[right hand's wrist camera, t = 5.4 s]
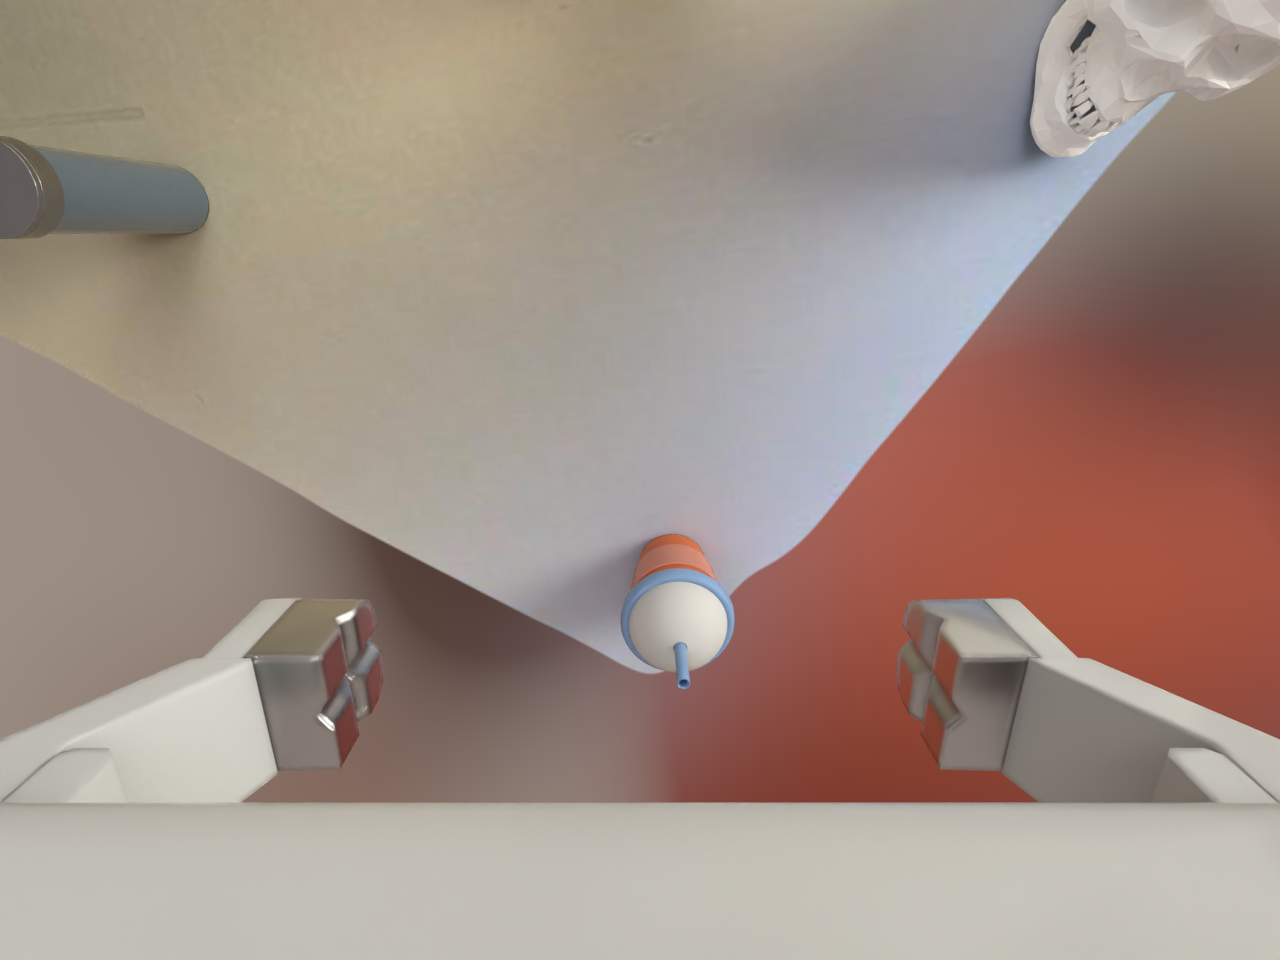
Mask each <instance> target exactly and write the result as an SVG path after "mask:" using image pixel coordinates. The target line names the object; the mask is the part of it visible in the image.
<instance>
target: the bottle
mask: <svg viewBox="0 0 1280 960" xmlns="http://www.w3.org/2000/svg"><path fill="white" fill-rule="evenodd" d="M29 146H31V147H33V148H34V149H35V150H37V151H38V152H39V153H40V154H41V155H42V156H43V157H44V158H45V159H46V160H47V161H48V162H49V163H50V165H51V166H52V167H53V169H54V170H55V172H56V174H57V176H58V178H59V180H60V182H61V185H62V188H63V193H64V200H65V205H64V213H63V216H62V219H61V221H60V223H59V224H58V226H57V227H56V228H55V229H54V230H53V231H52V232H50V233H49V234H183V233H191V232H193V231H196V230H197V229H199V228H200V227H201V226H202V225H203V224H204V222H205V220H206V218H207V215H208V209H209V208H208V199H207V195H206V192H205V190H204V188H203V186H202V185H201V183H200V182H199V181H198V180H197V178H196V177H195V176H194V175H192V174H191V173H190V172H188V171H187V170H185V169H183V168H181V167H178V166H175V165H168V164H161V163H154V162H147V161H140V160H133V159H126V158H119V157H112V156H105V155H98V154H91V153H84V152H77V151H70V150H63V149H56V148H49V147H42V146H35V145H29Z"/></svg>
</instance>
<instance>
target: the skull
mask: <svg viewBox="0 0 1280 960" xmlns="http://www.w3.org/2000/svg"><path fill="white" fill-rule="evenodd" d="M1087 19H1088V20H1089V21H1091V22H1092V23H1094V24H1095V25H1096V28H1095V30H1094V31H1093V33H1092V35H1091V36H1090V37H1088V38H1086V39H1085V40H1084V41H1083V42H1082V44H1081V46H1080V47H1079V48H1078V49H1077V50H1075V52H1074V54H1073V53H1072V51H1071V49H1070V47H1071V45H1072V44H1073V42H1074V40H1075V39H1076V37H1077V36H1078V34H1079V33H1080V31H1081V29H1082V28H1083V26H1084V24H1085V23H1086V21H1087ZM1084 51H1085V52H1084ZM1279 64H1280V0H1066V2H1065V3H1064V4H1063V5H1062V7H1061V8H1060V9H1059V11H1058V12H1057V13H1056V14H1055V16H1054V17H1053V18H1052V20H1051V22H1050V24H1049V26H1048V27H1047V30H1046V32H1045V34H1044V37H1043V39H1042V41H1041V44H1040V48H1039V53H1038V58H1037V64H1036V78H1035V92H1034V100H1033V106H1032V112H1031V118H1030V126H1031V131H1032V135H1033V138H1034V140H1035V142H1036V144H1037V145H1038V147H1039V148H1040V149H1041V150H1042V151H1044V152H1045V153H1047V154H1048V155H1050V156H1052V157H1073V156H1078V155H1080V154H1082V153H1083V152H1085V151H1086V150H1087V149H1088V148H1089V147H1090V146H1091V145H1092V144H1093V143H1094V142H1095V140H1097V139H1099V138H1101V137H1103V136H1105V135H1107V134H1108V133H1109V132H1111V131H1112V130H1113V129H1115V128H1117V127H1119V126H1121V125H1122V124H1124V123H1125V122H1126V121H1127V120H1130V119H1131V118H1132V117H1133V116H1134V115H1136V114H1137V113H1138V112H1139V111H1140V110H1142V109H1143V108H1144V107H1145V106H1146V105H1148V104H1149V103H1150V102H1152V101H1153V100H1154V99H1155V98H1157V97H1158V96H1159V95H1162V94H1164V93H1168V92H1174V91H1180V90H1183V91H1185V92H1187V93H1190V94H1192V95H1194V96H1195V97H1197V98H1198V99H1200V100H1201V101H1203V102H1204V101H1208V100H1213V99H1215V98H1218V97H1220V96H1223V95H1225V94H1227V93H1230V92H1232V91H1235V90H1236V89H1238V88H1240V87H1242V86H1244V85H1246V84H1248V83H1250V82H1252V81H1253V80H1255V79H1256V78H1258V77H1260V76H1261V75H1263V74H1264V73H1266V72H1268V71H1269V70H1271V69H1272V68H1274V67H1276V66H1277V65H1279ZM1074 72H1075V74H1074V75H1073V73H1074ZM1084 79H1085V83H1084V84H1082V85H1080V84H1081V83H1082V81H1083V80H1084ZM1079 85H1080V86H1079ZM1077 86H1078V87H1077ZM1085 89H1087V90H1086V91H1084V90H1085ZM1083 91H1084V92H1083ZM1072 94H1073V95H1072ZM1070 95H1072V97H1070ZM1088 98H1090V99H1091V101H1086V100H1088ZM1084 101H1086V102H1085V103H1083V102H1084ZM1081 103H1083V104H1082V105H1080V106H1078V107H1077V108H1075V109H1074V111H1072V112H1071V108H1072V106H1077V105H1079V104H1081ZM1093 104H1094V105H1095V108H1096V110H1095V111H1093V112H1092V113H1090V114H1089V115H1087V116H1086V117H1084V118H1082V116H1083V115H1084V114H1085V113H1086V112H1087V111H1088V110H1089V109H1090V108H1091V107H1092V105H1093ZM1075 113H1076V115H1077V117H1076V118H1074V119H1073V118H1072V116H1073V115H1074V114H1075ZM1098 119H1100V120H1099V121H1098V122H1096V121H1097V120H1098ZM1095 122H1096V123H1095ZM1076 123H1079V125H1077V124H1076Z"/></svg>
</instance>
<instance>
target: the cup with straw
mask: <svg viewBox="0 0 1280 960" xmlns="http://www.w3.org/2000/svg"><path fill="white" fill-rule="evenodd" d="M734 622H735V616H734V609H733V606H732V603H731V600H730V598H729V596H728V594H727V593H726V591H725V590H724V589H723V587H722V586H721V585H720V584H719V583H718V582H717V580H716V577H715V575H714V573H713V570H712V568H711V566H710V564H709V562H708V560H707V559H706V558H705V557H704V554H703V552H702V550H701V549H700V547H699V546H698V545H697V544H696V543H695V542H694V541H693V540H691V539H689V538H687V537H685V536H682V535H677V534H669V535H663V536H660V537H658V538H656V539H654V540H652V541H651V542H650V543H649V544H648V545H647V546H646V547H645V548H644V550H643V552H642V554H641V556H640V560H639V563H638V565H637V567H636V570H635V574H634V578H633V583H632V588H631V591H630V593H629V594H628V596H627V597H626V599H625V602H624V604H623V607H622V612H621V629H622V633H623V637H624V639H625V641H626V643H627V645H628V647H629V648H630V650H631V651H632V652H633V653H634V654H635V655H636V656H637V657H638V658H639V659H640V660H642V661H643V662H645V663H646V664H648V665H650V666H652V667H655V668H657V669H661V670H665V671H669V672H676V675H677V685H678V687H679V688H681V689H686V688H688V687H689V686H690V679H689V671H692V670H695V669H697V668H699V667H702V666H704V665H706V664H708V663H710V662H711V661H713V660H714V659H715V658H716V657H718V656H719V655H720V654H721V653H722V652H723V650H724V649H725V648H726V646H727V645H728V643H729V641H730V639H731V636H732V633H733V630H734Z"/></svg>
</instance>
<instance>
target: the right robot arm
mask: <svg viewBox="0 0 1280 960" xmlns="http://www.w3.org/2000/svg"><path fill="white" fill-rule="evenodd" d="M376 627H377V622H376V617H375V612H374V607H373V605H372V604H371V603H370V602H369V601H368V600H346V599H300V598H280V599H266V600H262V601H261V602H260V603H259V604H258V605H257V606H256V607H255V608H254V609H253V610H252V611H251V612H250V613H249V614H248V615H246V616H245V617H244V618H243V619H242V620H241V621H240V622H239V623H238V624H237V625H236V626H235V627H234V628H233V629H232V630H231V631H230V632H229V633H228V634H227V635H226V636H225V637H224V638H223V639H222V640H220V641H219V642H218V643H217V644H216V645H215V646H214V647H213V648H212V649H211V650H210V651H209V652H208V653H207V654H206V655H205V656H204V657H203V658H190V659H188V660H186V661H183V662H181V663H179V664H176V665H174V666H172V667H169V668H167V669H165V670H162V671H160V672H158V673H155V674H153V675H151V676H148V677H146V678H143V679H141V680H139V681H136V682H134V683H132V684H129V685H127V686H125V687H122V688H120V689H118V690H115V691H113V692H111V693H108V694H106V695H104V696H101V697H99V698H97V699H94V700H92V701H89V702H87V703H85V704H82V705H80V706H78V707H75V708H73V709H71V710H68V711H66V712H64V713H61V714H59V715H57V716H54V717H52V718H49V719H47V720H45V721H42V722H40V723H38V724H35V725H33V726H31V727H28V728H26V729H24V730H21V731H19V732H17V733H14V734H12V735H10V736H7V737H5V738H2V739H0V960H1280V740H1279V739H1277V738H1275V737H1272V736H1270V735H1268V734H1265V733H1263V732H1261V731H1258V730H1256V729H1254V728H1251V727H1249V726H1247V725H1244V724H1242V723H1240V722H1237V721H1235V720H1232V719H1230V718H1228V717H1225V716H1223V715H1221V714H1218V713H1216V712H1214V711H1211V710H1209V709H1207V708H1204V707H1202V706H1200V705H1197V704H1195V703H1193V702H1190V701H1188V700H1186V699H1183V698H1181V697H1179V696H1176V695H1174V694H1172V693H1169V692H1167V691H1164V690H1162V689H1160V688H1158V687H1155V686H1153V685H1150V684H1148V683H1146V682H1143V681H1141V680H1139V679H1136V678H1134V677H1132V676H1129V675H1127V674H1125V673H1122V672H1120V671H1118V670H1115V669H1113V668H1111V667H1108V666H1106V665H1104V664H1101V663H1099V662H1097V661H1094V660H1092V659H1089V658H1077V657H1076V656H1075V655H1074V654H1073V653H1072V652H1071V651H1070V650H1069V649H1068V648H1067V647H1066V646H1065V645H1064V644H1063V643H1062V642H1061V641H1060V640H1059V639H1058V638H1057V637H1055V636H1054V635H1053V634H1052V633H1051V632H1050V631H1049V630H1048V629H1047V628H1046V627H1045V626H1044V625H1043V624H1042V623H1041V622H1040V621H1039V620H1038V619H1037V618H1036V617H1035V616H1034V615H1033V614H1032V613H1031V612H1030V611H1028V610H1027V609H1026V608H1025V607H1024V606H1023V605H1022V604H1021V603H1020V602H1019V601H1018V600H1015V599H1012V598H995V599H953V600H917V601H910V602H909V604H908V606H907V609H906V611H905V616H904V622H903V627H904V628H905V630H906V631H907V633H908V634H909V636H910V638H911V639H910V640H909V641H908V642H907V643H906V644H905V645H904V646H903V647H902V648H901V649H900V651H899V654H898V663H897V680H898V689H899V692H900V696H901V699H902V702H903V704H904V706H905V707H906V709H907V711H908V713H909V714H910V715H912V716H913V717H915V718H916V719H918V720H919V721H921V722H923V724H922V731H921V736H922V738H923V740H924V742H925V743H926V745H927V747H928V749H929V750H930V752H931V754H932V756H933V758H934V759H935V761H936V763H937V765H938V766H939V768H940V769H956V770H993V771H1002V774H1003V775H1004V776H1006V777H1007V778H1009V779H1010V780H1011V781H1012V782H1014V783H1015V784H1016V785H1017V786H1019V787H1020V788H1021V789H1023V790H1024V791H1025V792H1027V793H1028V794H1029V795H1031V796H1032V797H1033V798H1034V799H1036V800H1037V801H1038V802H1040V803H241V802H242V801H243V800H245V799H246V798H247V797H248V796H250V795H251V794H252V793H254V792H255V791H256V790H258V789H259V788H260V787H261V786H263V785H264V784H265V783H267V782H268V781H269V780H270V779H272V778H273V777H274V776H276V775H277V774H278V771H287V770H322V769H340V768H341V766H342V765H343V763H344V761H345V759H346V758H347V756H348V754H349V752H350V751H351V749H352V747H353V745H354V743H355V742H356V740H357V738H358V736H359V730H358V724H357V722H359V721H360V720H362V719H364V718H365V717H367V716H368V715H370V714H371V713H372V711H373V709H374V707H375V705H376V704H377V702H378V700H379V695H380V691H381V687H382V683H383V661H382V654H381V651H380V649H379V648H378V647H377V646H376V645H375V644H374V643H373V642H372V641H371V640H370V639H369V638H370V636H371V634H372V633H373V631H374V630H375V628H376Z"/></svg>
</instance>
